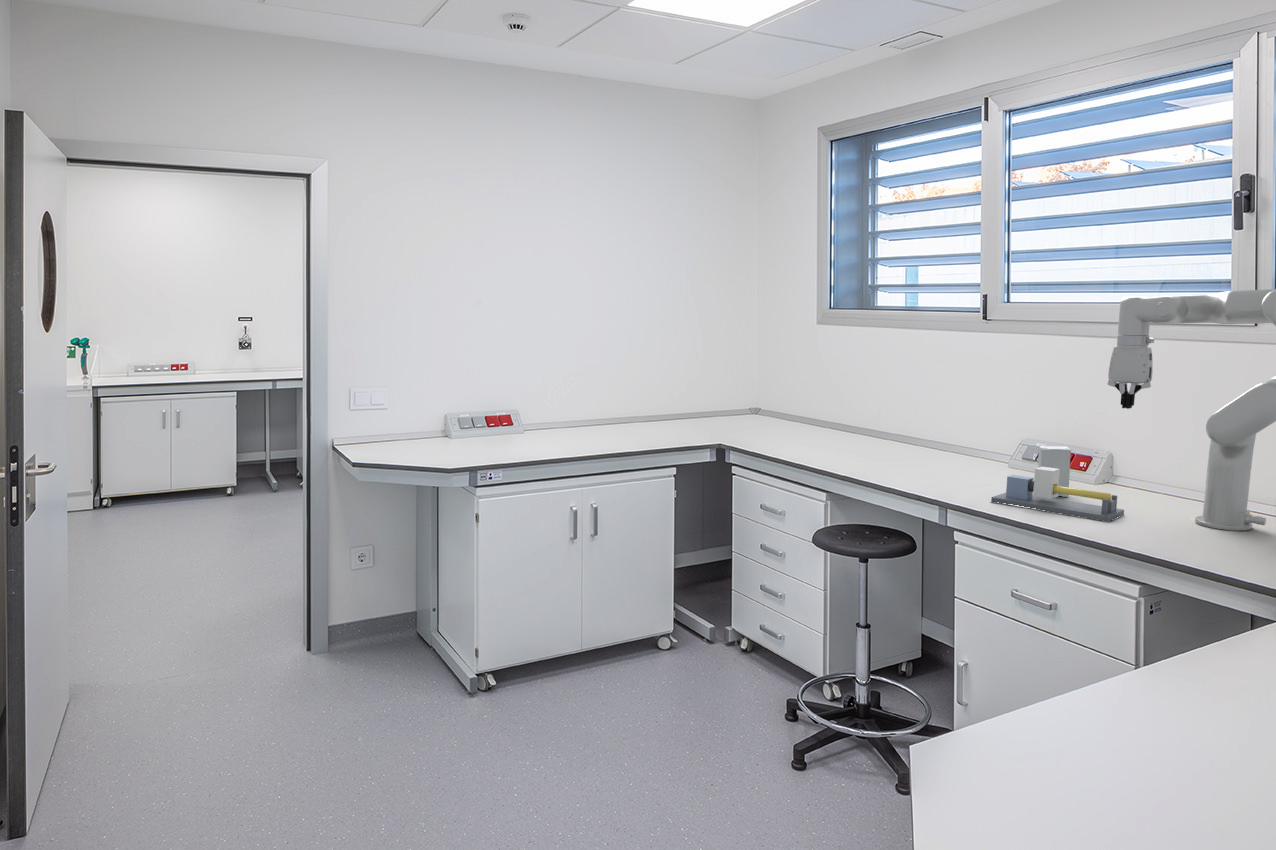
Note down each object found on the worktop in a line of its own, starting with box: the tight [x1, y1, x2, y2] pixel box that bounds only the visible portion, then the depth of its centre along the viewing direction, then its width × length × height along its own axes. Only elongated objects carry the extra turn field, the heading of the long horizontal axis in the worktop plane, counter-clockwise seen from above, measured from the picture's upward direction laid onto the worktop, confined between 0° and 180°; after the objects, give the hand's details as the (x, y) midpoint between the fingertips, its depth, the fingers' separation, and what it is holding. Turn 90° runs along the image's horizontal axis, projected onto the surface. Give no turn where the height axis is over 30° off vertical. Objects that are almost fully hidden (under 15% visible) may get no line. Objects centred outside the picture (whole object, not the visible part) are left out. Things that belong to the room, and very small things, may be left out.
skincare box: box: [1037, 445, 1072, 498], centre depth 270 cm, size 8×6×15 cm
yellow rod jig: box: [990, 474, 1125, 522], centre depth 252 cm, size 32×12×8 cm, turn 44°
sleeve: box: [1032, 467, 1060, 499], centre depth 254 cm, size 5×5×8 cm
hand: (1126, 407), depth 247 cm, fingers closed
